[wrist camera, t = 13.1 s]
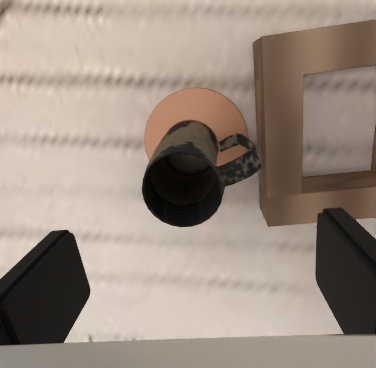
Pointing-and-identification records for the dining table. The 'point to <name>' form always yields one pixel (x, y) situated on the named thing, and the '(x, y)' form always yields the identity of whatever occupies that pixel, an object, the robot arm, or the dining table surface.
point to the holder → (293, 123)
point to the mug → (193, 173)
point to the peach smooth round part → (197, 119)
